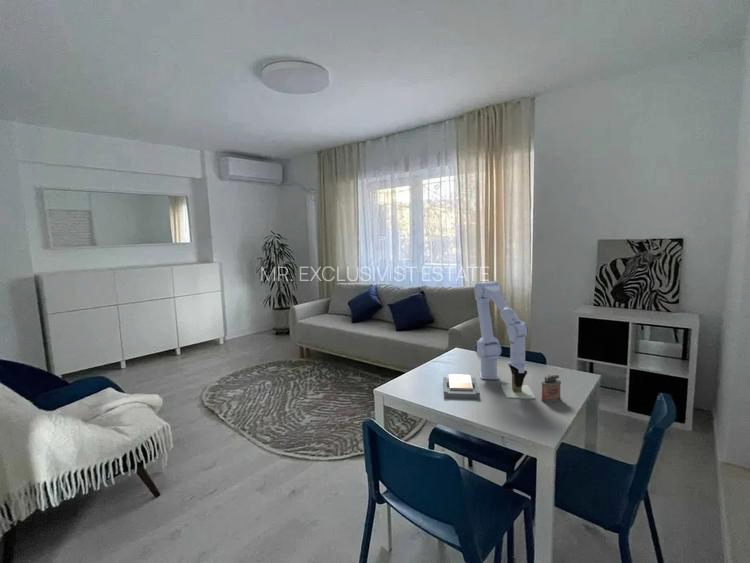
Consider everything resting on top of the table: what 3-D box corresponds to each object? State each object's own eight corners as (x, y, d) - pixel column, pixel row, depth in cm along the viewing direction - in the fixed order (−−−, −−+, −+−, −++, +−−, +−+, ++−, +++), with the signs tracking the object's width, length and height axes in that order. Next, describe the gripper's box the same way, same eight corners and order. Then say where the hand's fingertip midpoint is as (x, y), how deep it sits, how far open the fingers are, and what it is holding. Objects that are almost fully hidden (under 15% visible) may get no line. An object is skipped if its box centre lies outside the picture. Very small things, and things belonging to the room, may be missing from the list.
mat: (500, 385, 159) (500, 384, 159) (527, 386, 157) (527, 385, 157) (506, 398, 146) (506, 396, 146) (535, 399, 145) (535, 397, 144)
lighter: (545, 403, 140) (545, 378, 139) (539, 399, 144) (539, 375, 143) (562, 400, 143) (563, 375, 141) (556, 396, 146) (556, 372, 145)
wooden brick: (512, 389, 154) (512, 372, 153) (520, 389, 153) (520, 373, 152) (513, 392, 150) (513, 375, 150) (521, 392, 150) (521, 375, 149)
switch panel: (443, 382, 165) (443, 374, 164) (475, 383, 162) (475, 375, 162) (444, 397, 149) (444, 388, 148) (479, 398, 147) (479, 389, 146)
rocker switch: (448, 375, 161) (448, 374, 160) (470, 376, 159) (470, 374, 159) (449, 389, 152) (449, 387, 151) (472, 390, 150) (472, 388, 150)
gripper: (504, 346, 158) (504, 377, 159) (510, 357, 144) (510, 390, 145) (521, 346, 157) (521, 377, 158) (530, 357, 142) (529, 391, 144)
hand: (517, 384), depth 151 cm, fingers open, 5 cm apart
